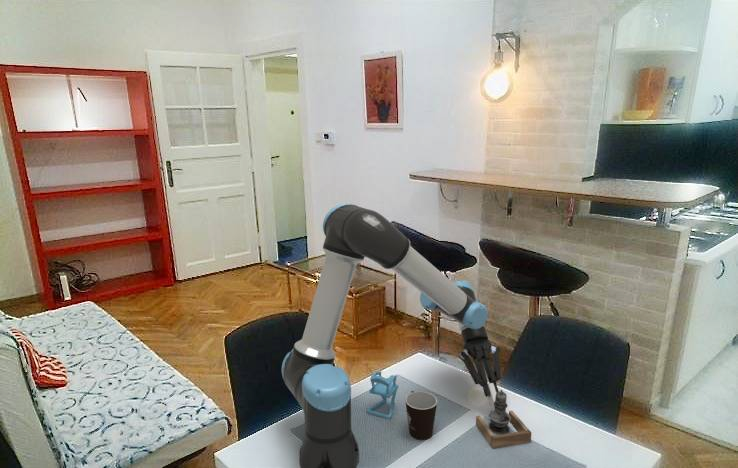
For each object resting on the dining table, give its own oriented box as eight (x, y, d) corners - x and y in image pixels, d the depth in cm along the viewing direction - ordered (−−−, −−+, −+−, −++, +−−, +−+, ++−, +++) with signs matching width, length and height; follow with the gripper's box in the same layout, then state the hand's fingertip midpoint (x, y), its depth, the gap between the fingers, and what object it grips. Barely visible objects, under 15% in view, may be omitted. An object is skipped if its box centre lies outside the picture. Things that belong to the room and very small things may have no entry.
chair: (401, 405, 137) (401, 369, 135) (389, 420, 130) (389, 382, 128) (378, 399, 141) (378, 363, 138) (366, 413, 134) (365, 376, 131)
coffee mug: (435, 444, 119) (436, 411, 117) (403, 440, 121) (403, 407, 119) (438, 418, 131) (438, 387, 128) (408, 415, 132) (408, 384, 130)
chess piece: (487, 419, 129) (489, 382, 126) (508, 421, 128) (511, 384, 125) (488, 433, 124) (491, 394, 121) (511, 435, 123) (514, 396, 120)
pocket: (475, 425, 127) (476, 415, 126) (511, 419, 129) (512, 410, 129) (492, 448, 118) (492, 438, 117) (530, 442, 120) (531, 432, 119)
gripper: (487, 330, 144) (511, 407, 132) (449, 335, 142) (470, 413, 129) (496, 321, 138) (522, 401, 126) (456, 326, 135) (479, 408, 123)
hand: (496, 407), depth 127 cm, fingers closed
